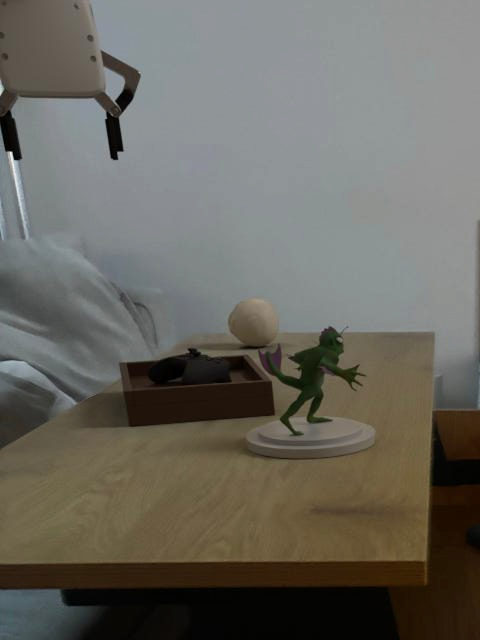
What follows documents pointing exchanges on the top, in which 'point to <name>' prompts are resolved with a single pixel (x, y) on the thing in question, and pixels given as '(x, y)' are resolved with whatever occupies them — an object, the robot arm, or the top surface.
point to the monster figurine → (311, 407)
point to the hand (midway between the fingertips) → (67, 160)
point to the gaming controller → (190, 369)
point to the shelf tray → (196, 395)
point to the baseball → (254, 322)
